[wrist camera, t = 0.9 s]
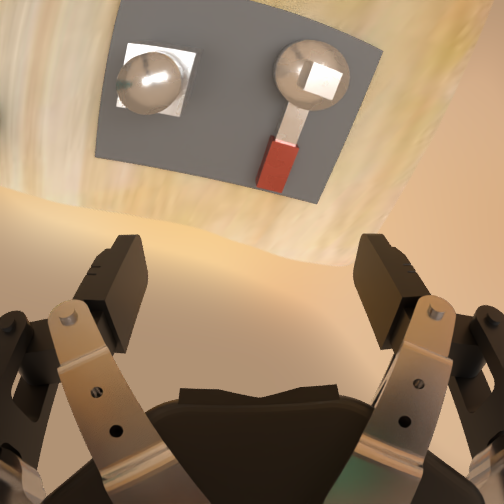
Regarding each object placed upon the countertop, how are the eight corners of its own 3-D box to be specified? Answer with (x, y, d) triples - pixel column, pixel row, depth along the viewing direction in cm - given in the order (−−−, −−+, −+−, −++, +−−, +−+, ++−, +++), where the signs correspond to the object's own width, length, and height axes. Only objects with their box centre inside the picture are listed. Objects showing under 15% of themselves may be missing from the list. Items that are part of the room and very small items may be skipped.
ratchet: (237, 175, 32) (238, 201, 28) (285, 30, 23) (297, 29, 19) (296, 190, 33) (306, 217, 29) (351, 54, 24) (373, 61, 20)
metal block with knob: (137, 91, 25) (107, 113, 19) (148, 40, 22) (119, 44, 16) (189, 100, 26) (175, 124, 20) (202, 49, 23) (192, 55, 17)
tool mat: (97, 154, 29) (94, 157, 29) (128, -17, 19) (126, -18, 18) (315, 200, 35) (316, 204, 34) (379, 50, 24) (383, 51, 24)
